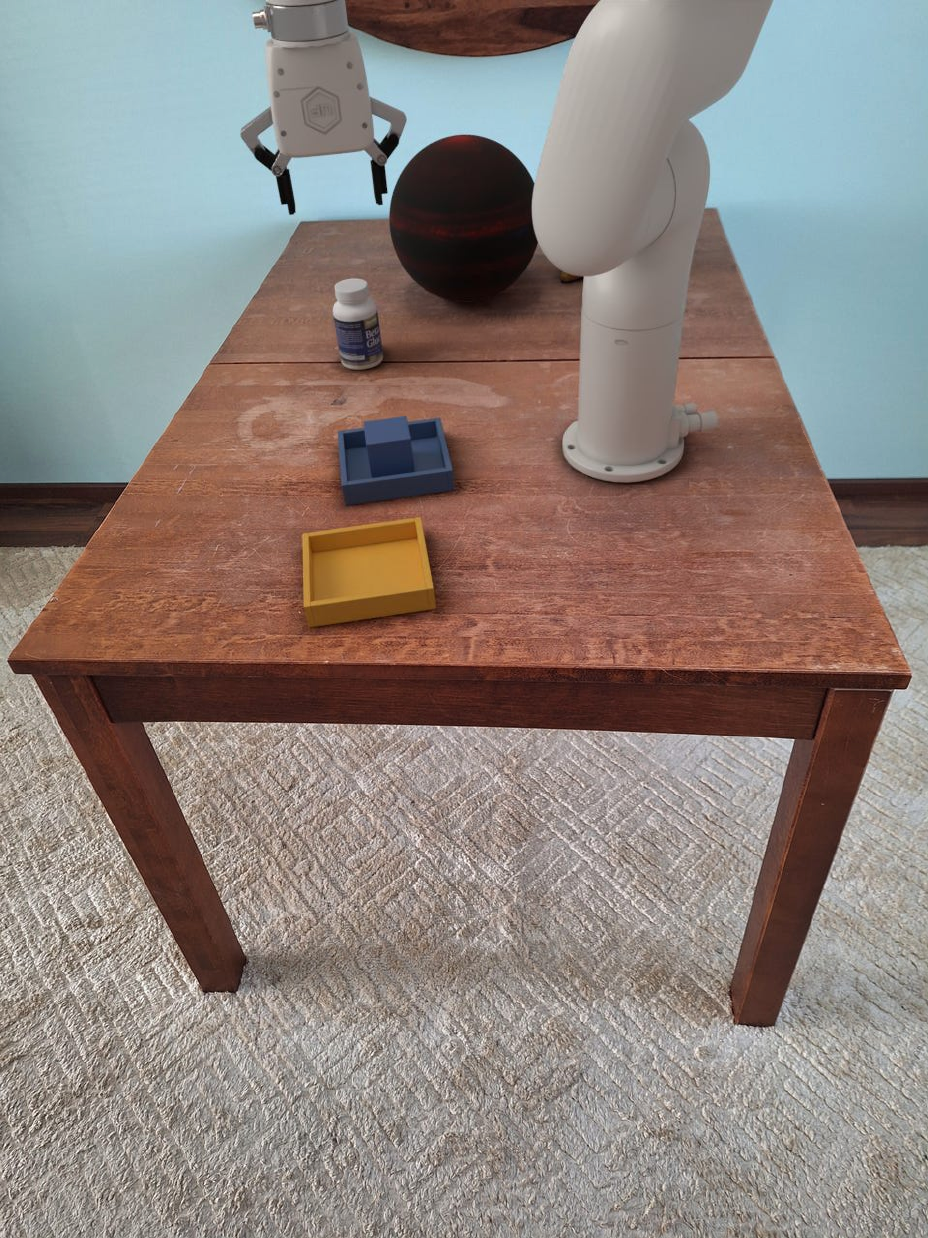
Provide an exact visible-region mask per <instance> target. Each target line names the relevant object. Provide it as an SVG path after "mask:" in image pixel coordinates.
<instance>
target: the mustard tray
mask: <svg viewBox="0 0 928 1238" xmlns="http://www.w3.org/2000/svg"><path fill="white" fill-rule="evenodd" d="M301 536H302V540H301V541H302V589H303V591H302V592H303V593H302V595H303V610H304V615H305V618H306V622H307V624H308V627H309V628H316V627H323V626H329V625H335V624H342V623H349V622H357V621H362V620H368V619H376V618H383V617H389V616H390V617H391V616H396V615H403V614H410V613H417V612H423V611H424V612H425V611H430V610H436V609H437V604H436V596H435V588H434V582H433V576H432V572H431V571H432V570H431V564H430V560H429V555H428V554H429V553H428V549H427V543H426V537H425V532H424V527H423V521H422V517H421V516H416V517H411V518H403V519H396V520H389V521H382V522H375V523H368V524H367V523H366V524H360V525H353V526H346V527H340V528H332V529H327V530H318V531H312V532H303V533H302V535H301Z"/></svg>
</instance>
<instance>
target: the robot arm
mask: <svg viewBox="0 0 928 1238" xmlns="http://www.w3.org/2000/svg"><path fill="white" fill-rule="evenodd" d="M264 1H265V5H264V6H263V9H259V10H258V11H252V19H253V24H254V29H263V30H264V31H265V30H267V33H270V36H271V38H270V39H268V40H266V43H265V49H264V51H265V52H264V53H265V73H266V83H267V90H268V98H269V99H268V100H269V105H270V106H268V107H267V108H266V109H264V110H263V111H262V112H261V113H259V114H258V115H257V116H255V117H254V118H253V119H251V120H250V121H249V122H247V123H246V124H245V125H244V126H242V127H241V128H240V138H241V140H242V142H244V144H245V145H246V147H247V148H248V149H249V151H250V152H251V153H252V155H253V156H254V158H255V160H256V161H258V162H259V163H260V164H261V165H263V166H264V167H265V168H267V170H269V171H270V172H271V173H272V175H273V176H275V179H276V184H277V185H276V186H277V191H278V195H279V200H280V204H281V206H283V205H287V211H288V215H289V216H294V215H295V214H296V201H295V194H294V188H293V185H292V184H293V183H292V179H291V173H290V169H289V168H288V165H289V163H290V162H291V159H294V158H295V159H300V158H311V157H313V158H314V157H324V156H331V155H332V156H333V155H342V154H350V153H357V152H363V151H365V153H366V154H367V155H368V156H369V157H370V158H371V160H370V171H371V179H372V186H373V193H374V194H373V195H374V201H375V204H376V205H378V206H383V205H384V202H383V195H387V194H388V192H389V191H388V183H387V173H386V164H387V162H388V160H389V158H390V157H391V155H392V154H393V153H394V151H395V150H396V149H397V147H398V146H399V145H400V141H401V137H402V134H403V132H404V129H405V128H406V127H405V126H406V124H407V115H406V113H405V112H404V111H403V110H401V109H399V108H397V107H394V106H392V105H390V104H388V103H385V102H383V101H381V100H379V99H377V98H375V97H372V96H371V95H370V91H369V89H370V88H369V84H368V78H367V72H366V71H367V70H366V66H365V61H364V58H363V54H362V53H363V52H362V49H361V46H360V42H359V39H358V36H357V35H356V33H355V32H353V31H351V30H349V22H348V14H347V6H346V0H264ZM773 3H774V0H599V1H598V2H597V3H596V4H595V6H593V8H592V9H591V11H590V12H589V13H588V15H587V16H586V18H585V19H584V21H583V23H582V24H581V26H580V28H579V29H578V32H577V34H576V35H575V38H574V39H573V42H572V44H571V47H570V50H569V53H568V56H567V57H566V62H565V66H564V69H563V72H562V74H561V75H562V76H561V79H560V83H559V87H558V91H557V95H556V99H555V103H554V106H553V109H552V113H551V118H550V120H549V125H548V128H547V132H546V137H545V140H544V143H543V147H542V152H541V155H540V159H539V163H538V167H537V169H536V170H537V171H536V175H535V178H534V183H535V184H534V189H533V197H532V220H533V227H534V231H535V235H536V238H537V241H538V245H539V247H540V249H541V251H542V253H543V254H544V256H545V257H546V259H547V260H548V261H549V262H550V263H551V264H552V265H553V266H554V267H556V268H557V269H559V270H560V271H564V272H566V273H568V274H571V275H575V276H582V277H583V281H582V292H581V293H582V295H581V310H580V311H581V313H580V342H579V343H580V345H579V370H578V371H579V373H578V375H579V377H578V407H577V409H578V411H577V419H576V420H575V421H574V422H572V423H570V424H569V426H568V427H567V428H566V430H565V431H564V433H563V436H562V440H561V441H562V454H563V456H564V458H565V460H566V461H567V463H568V464H569V465H570V466H571V467H573V468H574V469H575V470H576V471H578V472H580V473H581V474H583V475H586V476H588V477H590V478H593V479H597V480H600V481H604V482H605V481H606V482H611V483H639V482H644V481H649V480H652V479H657V478H658V477H661V476H663V475H665V474H667V473H669V472H671V470H673V469H674V468H675V467H676V466H677V465H678V464H679V463H680V461H682V457H683V455H684V450H685V449H684V447H685V440H684V438H685V437H687V436H688V435H689V433H694V432H707V431H713V430H717V428H718V427H719V418H718V414H717V412H716V410H708V411H703V412H698V405H697V403H696V402H690V403H684V404H680V405H675V404H674V403H675V395H676V386H677V377H678V370H679V369H678V368H679V361H680V352H681V346H682V335H683V327H684V320H685V312H686V307H687V298H688V292H689V291H688V290H689V283H690V276H691V271H692V270H691V269H692V264H693V259H694V255H695V254H694V253H695V249H696V245H697V240H698V236H699V232H700V229H701V225H702V221H703V217H704V214H705V209H706V206H707V200H708V195H709V191H710V181H711V161H710V155H709V150H708V147H707V144H706V141H705V139H704V137H703V135H702V133H701V131H700V130H699V128H698V127H697V126H696V125H695V124H694V123H693V121H691V120H690V119H692V118H693V117H695V116H697V115H699V114H701V113H702V112H703V111H705V110H707V109H709V108H710V107H711V106H713V105H715V104H716V103H717V102H719V101H720V100H722V99H723V98H725V96H727V95H728V94H729V93H730V92H731V91H732V89H733V88H735V86H736V85H737V83H738V82H739V81H740V80H741V78H742V77H743V74H744V72H745V70H746V68H747V67H748V64H749V62H750V59H751V57H752V54H753V52H754V50H755V46H756V44H757V42H758V39H759V37H760V34H761V32H762V29H763V27H764V24H765V22H766V20H767V17H768V14H769V12H770V10H771V8H772V5H773ZM373 116H375V117H377V118H379V119H382V120H384V121H386V122H389V124H390V125H389V129H388V132H387V133H386V134H385V136H384V137H383V139H382V140H381V141H380V142H379V141H378V140H377V139H376V138H375V128H374V126H375V125H374V117H373ZM271 126H273V130H274V137H275V141H276V145H277V150H276V151H275V153H274V152H273V151H271V150H270V149H269V148H268V147H266V146H265V145H263V143H262V142H261V140H260V139H259V135H261V134H262V133H263V132H265V131H266V130H267V129H269V128H270V127H271Z"/></svg>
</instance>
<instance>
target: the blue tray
mask: <svg viewBox="0 0 928 1238" xmlns="http://www.w3.org/2000/svg"><path fill="white" fill-rule="evenodd" d="M408 427H409V432H410V437H411V445H412V453H413V461H414V469H415V472H413V473H405V474H398V475H391V476H384V477H376V478H372V477H371V471H370V465H369V459H368V453H367V447H366V439H365V431H364V427H359V428H352V429H345V430H344V429H343V430H338V431H337V442H338V443H337V444H338V456H339V467H340V468H339V469H340V483H341V490H342V494H343V500H344V504H345V506H353V505H359V504H366V503H374V502H380V501H389V500H394V499H395V500H396V499H403V498H408V497H409V498H411V497H417V496H424V495H431V494H438V493H445V492H452V491H455V490H456V489H455V479H454V470H453V465H452V461H451V456H450V452H449V448H448V444H447V440H446V436H445V431H444V428H443V424H442V419H441V417H435V418H434V417H433V418H426V419H419V420H418V419H417V420H412V421H408Z"/></svg>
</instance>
